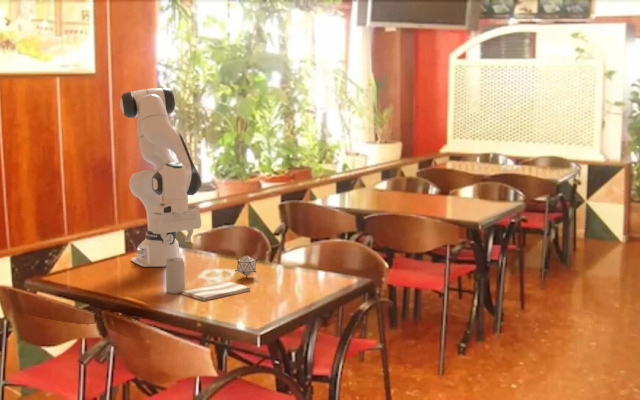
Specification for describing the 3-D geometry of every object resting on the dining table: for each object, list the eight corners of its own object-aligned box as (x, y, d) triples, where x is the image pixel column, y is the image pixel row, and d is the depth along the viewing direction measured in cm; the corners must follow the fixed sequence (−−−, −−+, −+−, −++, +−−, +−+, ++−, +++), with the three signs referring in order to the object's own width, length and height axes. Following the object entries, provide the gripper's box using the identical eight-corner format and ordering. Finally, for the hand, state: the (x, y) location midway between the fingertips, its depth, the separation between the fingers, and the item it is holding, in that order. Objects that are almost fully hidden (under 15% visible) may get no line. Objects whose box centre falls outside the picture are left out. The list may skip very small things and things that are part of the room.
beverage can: (162, 292, 270) (161, 259, 269) (177, 288, 275) (176, 256, 273) (173, 295, 266) (172, 261, 264) (188, 292, 271) (187, 258, 269)
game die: (254, 281, 286) (253, 255, 285) (232, 280, 288) (231, 254, 286) (260, 276, 295) (260, 250, 293) (239, 275, 296) (239, 249, 295)
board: (182, 293, 268) (182, 290, 268) (227, 284, 282) (227, 281, 282) (204, 301, 259) (204, 297, 258) (250, 290, 273) (250, 287, 272)
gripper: (194, 203, 293) (195, 238, 294) (147, 208, 278) (149, 245, 280) (204, 204, 288) (205, 240, 290) (157, 209, 274) (158, 247, 276)
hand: (177, 243), depth 285 cm, fingers open, 8 cm apart
